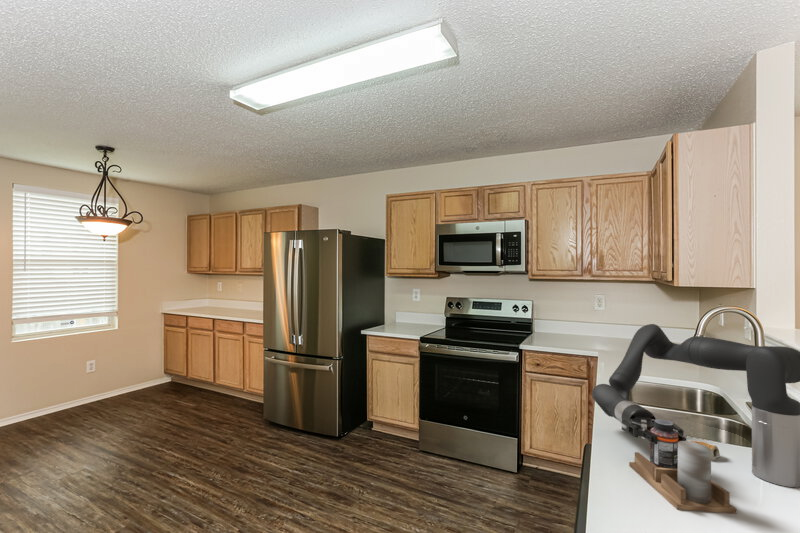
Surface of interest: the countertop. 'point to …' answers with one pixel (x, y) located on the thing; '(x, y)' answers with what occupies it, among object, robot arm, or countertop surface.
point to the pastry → (714, 450)
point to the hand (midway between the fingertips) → (670, 441)
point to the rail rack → (686, 480)
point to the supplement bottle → (664, 445)
